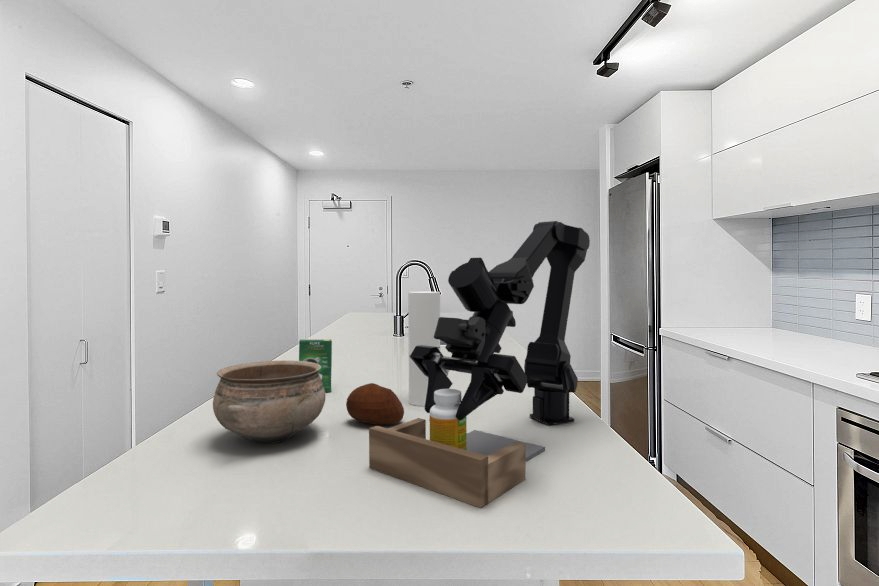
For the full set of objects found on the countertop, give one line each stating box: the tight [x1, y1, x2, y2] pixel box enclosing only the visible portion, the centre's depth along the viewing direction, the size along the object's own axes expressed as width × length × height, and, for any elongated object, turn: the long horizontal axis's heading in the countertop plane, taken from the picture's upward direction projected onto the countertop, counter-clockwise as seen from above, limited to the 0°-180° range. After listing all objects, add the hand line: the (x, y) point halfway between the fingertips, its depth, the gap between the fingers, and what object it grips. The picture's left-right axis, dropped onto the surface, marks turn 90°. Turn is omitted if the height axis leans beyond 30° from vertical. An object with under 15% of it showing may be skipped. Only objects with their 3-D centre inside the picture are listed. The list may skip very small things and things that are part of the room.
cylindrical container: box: [407, 291, 441, 407], centre depth 111 cm, size 7×7×25 cm
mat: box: [467, 429, 546, 463], centre depth 81 cm, size 12×14×1 cm
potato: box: [345, 382, 405, 426], centre depth 95 cm, size 8×12×8 cm, turn 85°
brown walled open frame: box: [368, 417, 527, 509], centre depth 71 cm, size 11×20×6 cm, turn 51°
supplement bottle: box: [429, 388, 468, 450], centre depth 72 cm, size 5×5×10 cm
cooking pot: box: [212, 360, 326, 444], centre depth 88 cm, size 25×19×12 cm
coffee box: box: [298, 339, 333, 393], centre depth 121 cm, size 8×3×13 cm, turn 103°
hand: (441, 415), depth 71 cm, fingers closed on supplement bottle, 5 cm apart
